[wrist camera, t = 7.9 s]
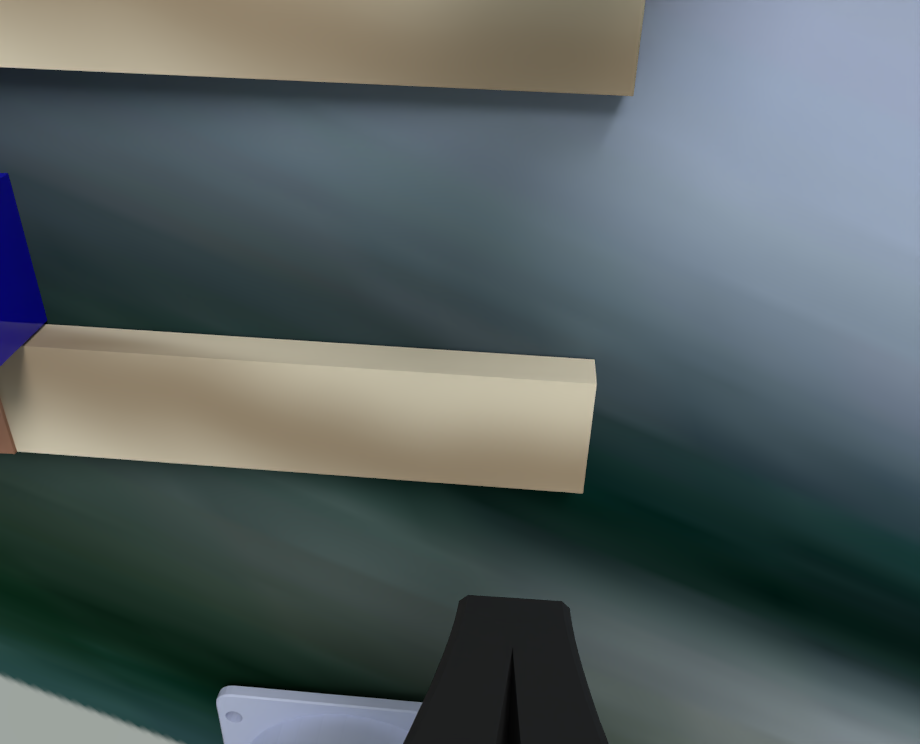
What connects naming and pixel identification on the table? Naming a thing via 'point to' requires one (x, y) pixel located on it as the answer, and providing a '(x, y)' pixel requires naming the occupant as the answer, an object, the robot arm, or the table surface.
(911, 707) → the table surface
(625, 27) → the birch track
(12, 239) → the cable holder
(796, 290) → the table surface
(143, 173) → the table surface
